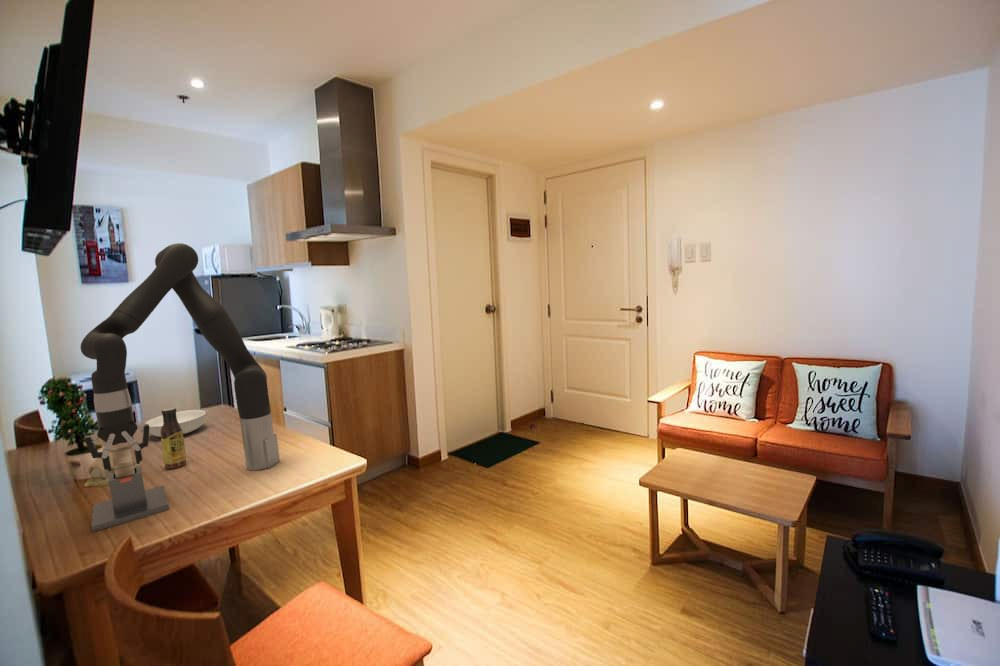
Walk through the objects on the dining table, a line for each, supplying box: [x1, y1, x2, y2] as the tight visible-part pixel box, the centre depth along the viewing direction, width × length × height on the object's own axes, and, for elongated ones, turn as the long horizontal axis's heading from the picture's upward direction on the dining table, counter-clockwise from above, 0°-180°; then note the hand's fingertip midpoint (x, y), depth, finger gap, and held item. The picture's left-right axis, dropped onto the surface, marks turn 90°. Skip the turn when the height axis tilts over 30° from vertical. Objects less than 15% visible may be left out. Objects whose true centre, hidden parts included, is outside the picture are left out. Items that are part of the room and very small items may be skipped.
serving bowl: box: [144, 409, 207, 438], centre depth 195 cm, size 21×21×7 cm
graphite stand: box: [91, 465, 170, 533], centre depth 130 cm, size 16×16×10 cm
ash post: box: [111, 444, 135, 478], centre depth 129 cm, size 4×4×16 cm
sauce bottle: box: [160, 407, 187, 470], centre depth 159 cm, size 7×6×20 cm
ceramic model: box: [83, 447, 142, 488], centre depth 153 cm, size 14×11×10 cm
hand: (124, 466), depth 129 cm, fingers open, 5 cm apart
